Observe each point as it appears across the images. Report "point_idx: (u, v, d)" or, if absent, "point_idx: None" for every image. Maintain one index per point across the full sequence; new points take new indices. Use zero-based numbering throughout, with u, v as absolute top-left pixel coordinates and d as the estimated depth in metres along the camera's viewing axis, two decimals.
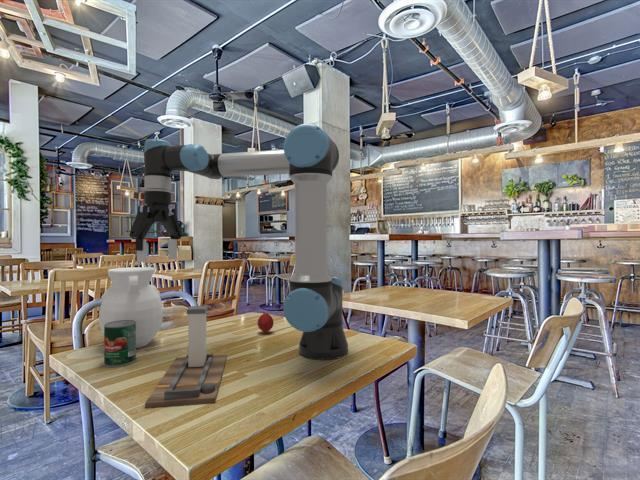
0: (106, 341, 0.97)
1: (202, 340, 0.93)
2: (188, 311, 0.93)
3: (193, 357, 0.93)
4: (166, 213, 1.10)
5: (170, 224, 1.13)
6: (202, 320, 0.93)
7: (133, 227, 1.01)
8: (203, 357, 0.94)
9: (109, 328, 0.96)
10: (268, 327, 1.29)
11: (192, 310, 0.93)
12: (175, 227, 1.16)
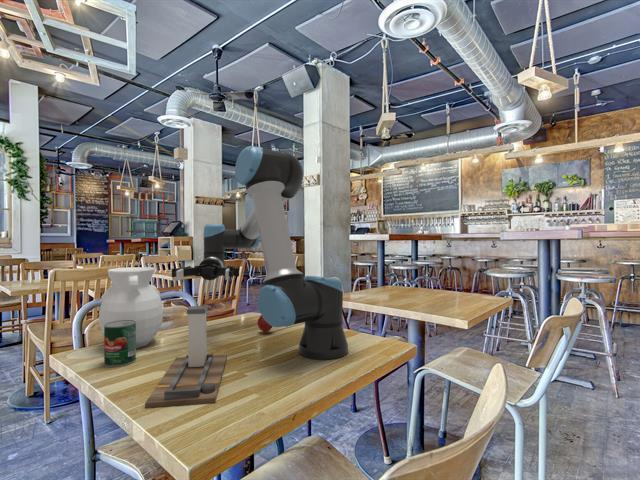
0: (106, 341, 0.97)
1: (202, 340, 0.93)
2: (188, 311, 0.93)
3: (193, 357, 0.93)
4: (213, 264, 1.18)
5: (220, 267, 1.15)
6: (202, 320, 0.93)
7: None
8: (203, 357, 0.94)
9: (109, 328, 0.96)
10: (268, 327, 1.29)
11: (192, 310, 0.93)
12: None
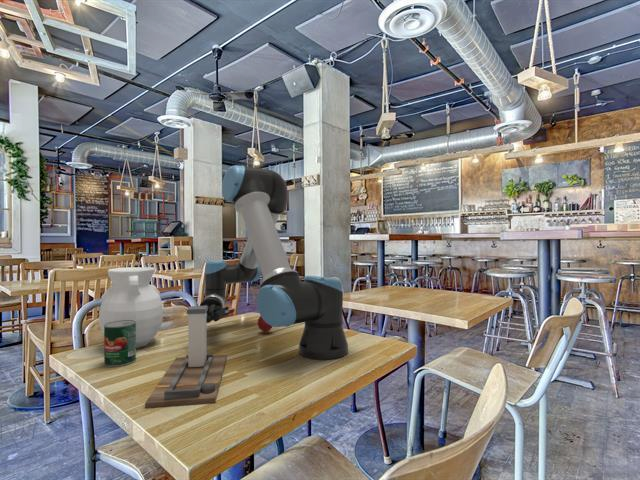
0: (106, 341, 0.97)
1: (202, 340, 0.93)
2: (188, 311, 0.93)
3: (193, 357, 0.93)
4: (213, 304, 1.18)
5: (211, 309, 1.14)
6: (202, 320, 0.93)
7: None
8: (203, 357, 0.94)
9: (109, 328, 0.96)
10: (268, 327, 1.29)
11: (192, 310, 0.93)
12: None
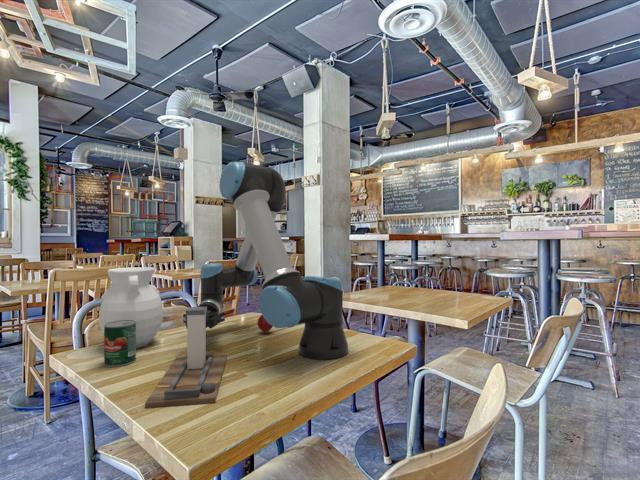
0: (106, 341, 0.97)
1: (201, 342, 0.92)
2: (187, 312, 0.91)
3: (192, 359, 0.92)
4: (208, 310, 1.13)
5: (206, 316, 1.08)
6: (201, 321, 0.92)
7: None
8: (202, 359, 0.92)
9: (109, 328, 0.96)
10: (268, 327, 1.29)
11: (191, 311, 0.91)
12: None
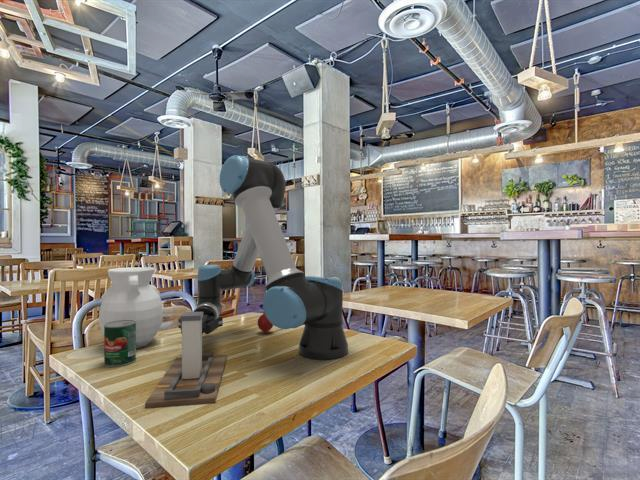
0: (106, 341, 0.97)
1: (197, 349, 0.86)
2: (182, 318, 0.85)
3: (187, 368, 0.85)
4: (205, 315, 1.06)
5: (203, 321, 1.02)
6: (197, 328, 0.86)
7: None
8: (198, 368, 0.86)
9: (109, 328, 0.96)
10: (268, 327, 1.29)
11: (186, 317, 0.85)
12: None
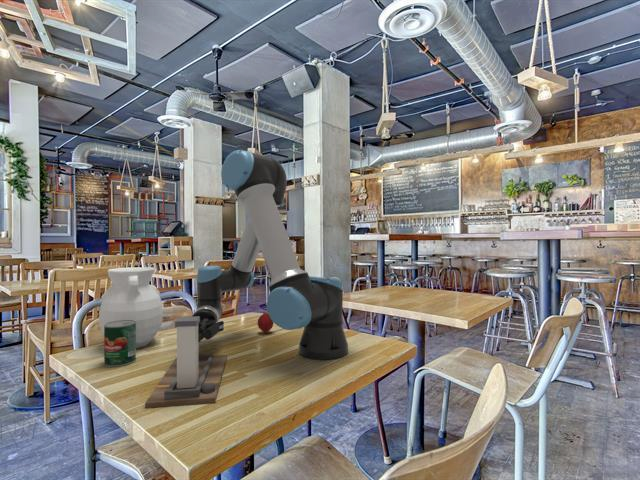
0: (106, 341, 0.97)
1: (193, 357, 0.80)
2: (176, 323, 0.79)
3: (182, 377, 0.80)
4: (205, 319, 1.01)
5: (203, 325, 0.97)
6: (193, 334, 0.80)
7: None
8: (194, 377, 0.81)
9: (109, 328, 0.96)
10: (268, 327, 1.29)
11: (181, 322, 0.80)
12: None
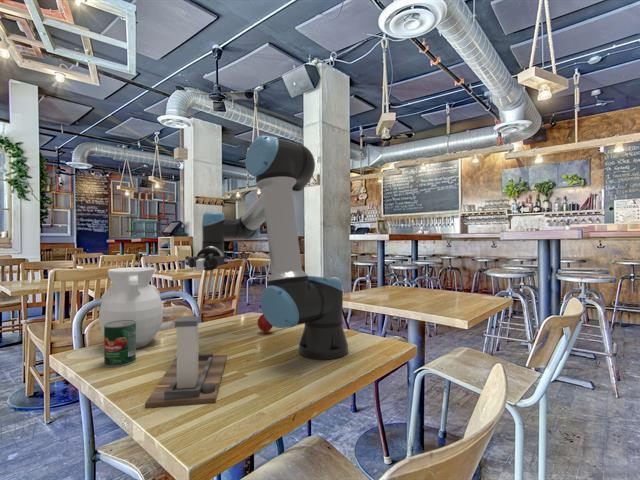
0: (106, 341, 0.97)
1: (193, 357, 0.80)
2: (176, 323, 0.79)
3: (182, 377, 0.80)
4: (211, 253, 1.11)
5: (209, 257, 1.07)
6: (193, 334, 0.80)
7: (189, 264, 1.03)
8: (194, 377, 0.81)
9: (109, 328, 0.96)
10: (268, 327, 1.29)
11: (181, 322, 0.80)
12: None
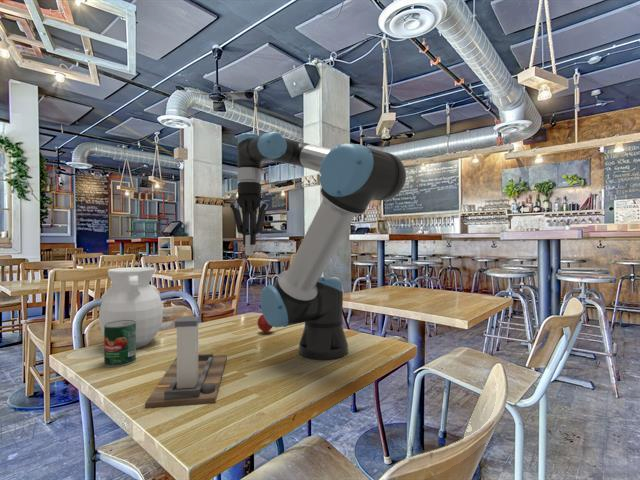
0: (106, 341, 0.97)
1: (193, 357, 0.80)
2: (176, 323, 0.79)
3: (182, 377, 0.80)
4: (250, 202, 1.13)
5: (251, 216, 1.14)
6: (193, 334, 0.80)
7: None
8: (194, 377, 0.81)
9: (109, 328, 0.96)
10: (268, 327, 1.29)
11: (181, 322, 0.80)
12: None
